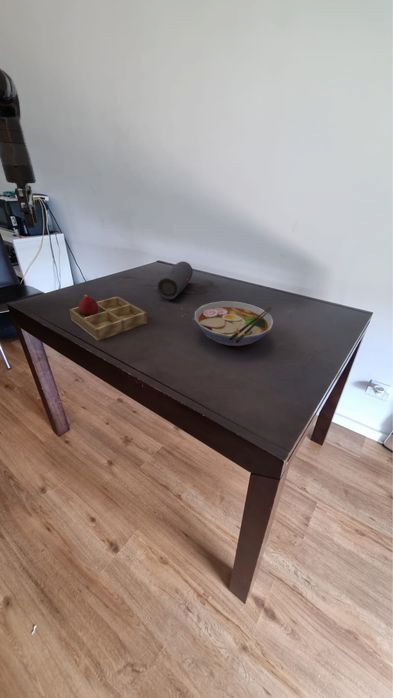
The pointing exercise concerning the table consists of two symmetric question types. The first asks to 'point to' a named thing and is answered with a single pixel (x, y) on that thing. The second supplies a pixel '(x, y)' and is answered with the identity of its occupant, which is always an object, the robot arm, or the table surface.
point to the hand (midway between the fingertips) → (32, 225)
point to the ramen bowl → (233, 322)
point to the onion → (88, 306)
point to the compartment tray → (110, 318)
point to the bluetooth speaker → (175, 280)
